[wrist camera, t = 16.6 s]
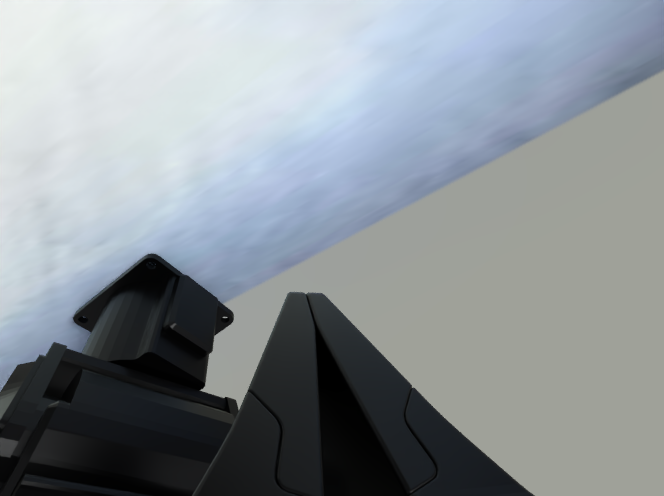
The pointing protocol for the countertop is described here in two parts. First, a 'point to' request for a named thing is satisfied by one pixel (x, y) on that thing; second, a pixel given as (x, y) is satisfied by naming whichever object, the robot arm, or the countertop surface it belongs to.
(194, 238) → the countertop surface
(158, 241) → the countertop surface
